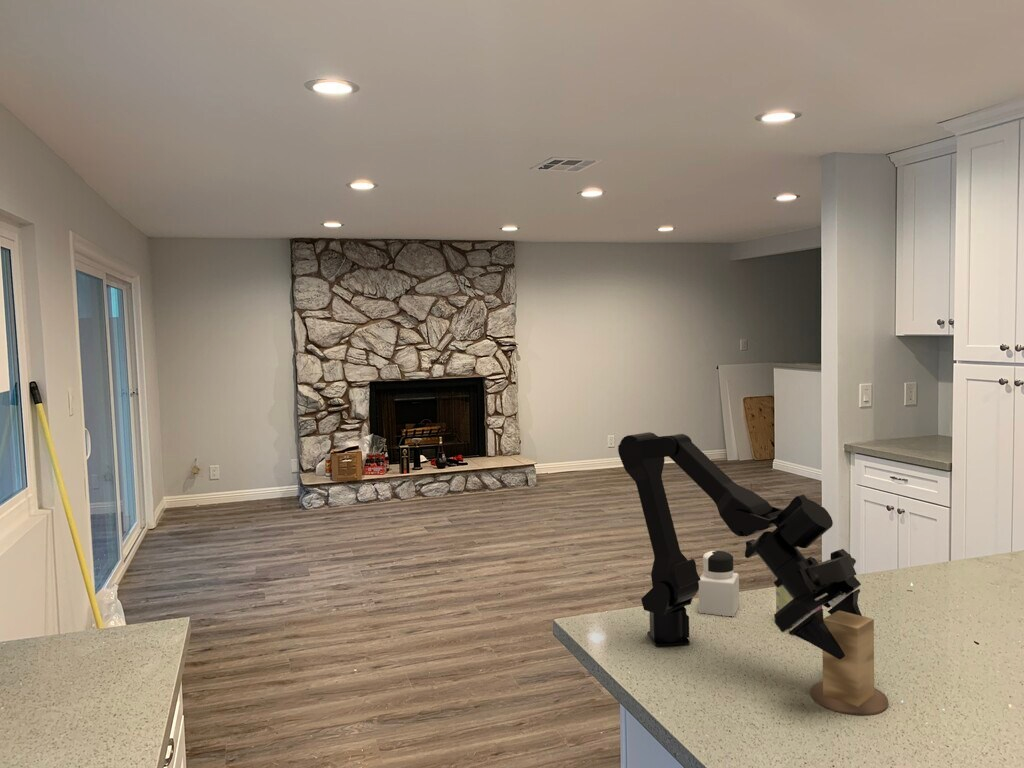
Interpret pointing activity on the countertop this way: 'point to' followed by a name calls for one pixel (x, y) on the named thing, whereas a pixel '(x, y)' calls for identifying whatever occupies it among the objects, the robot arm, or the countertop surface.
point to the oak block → (850, 659)
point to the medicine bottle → (718, 585)
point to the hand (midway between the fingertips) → (856, 649)
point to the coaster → (869, 707)
